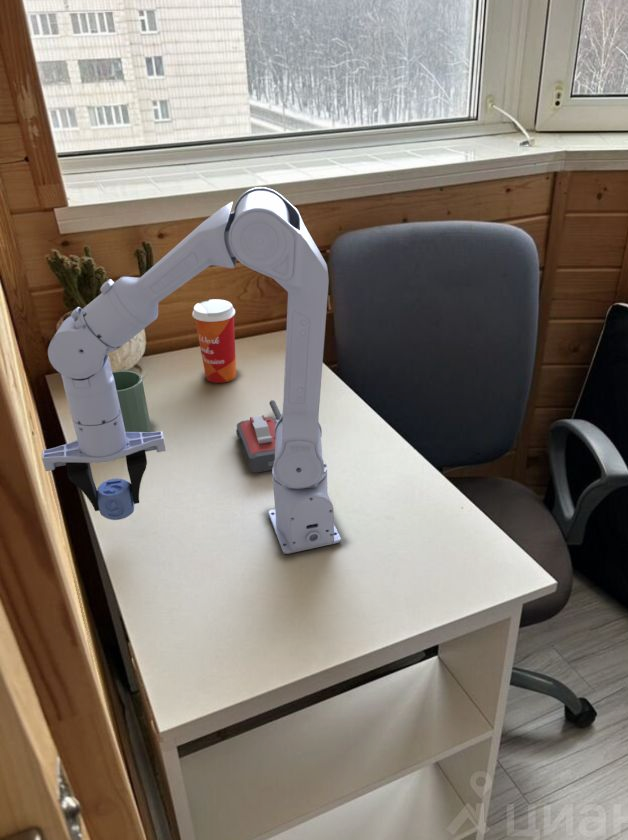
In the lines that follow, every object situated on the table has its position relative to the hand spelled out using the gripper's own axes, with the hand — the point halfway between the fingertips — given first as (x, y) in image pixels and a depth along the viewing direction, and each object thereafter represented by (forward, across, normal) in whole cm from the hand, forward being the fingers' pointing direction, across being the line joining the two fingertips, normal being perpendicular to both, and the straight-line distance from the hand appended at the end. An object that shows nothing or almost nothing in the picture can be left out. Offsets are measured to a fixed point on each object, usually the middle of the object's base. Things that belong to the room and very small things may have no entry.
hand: (117, 502), depth 96 cm
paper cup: (+5, -20, -42) cm, 47 cm away
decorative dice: (+2, 0, 0) cm, 2 cm away
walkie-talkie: (+5, -24, -17) cm, 30 cm away
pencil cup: (+5, -2, -27) cm, 28 cm away
